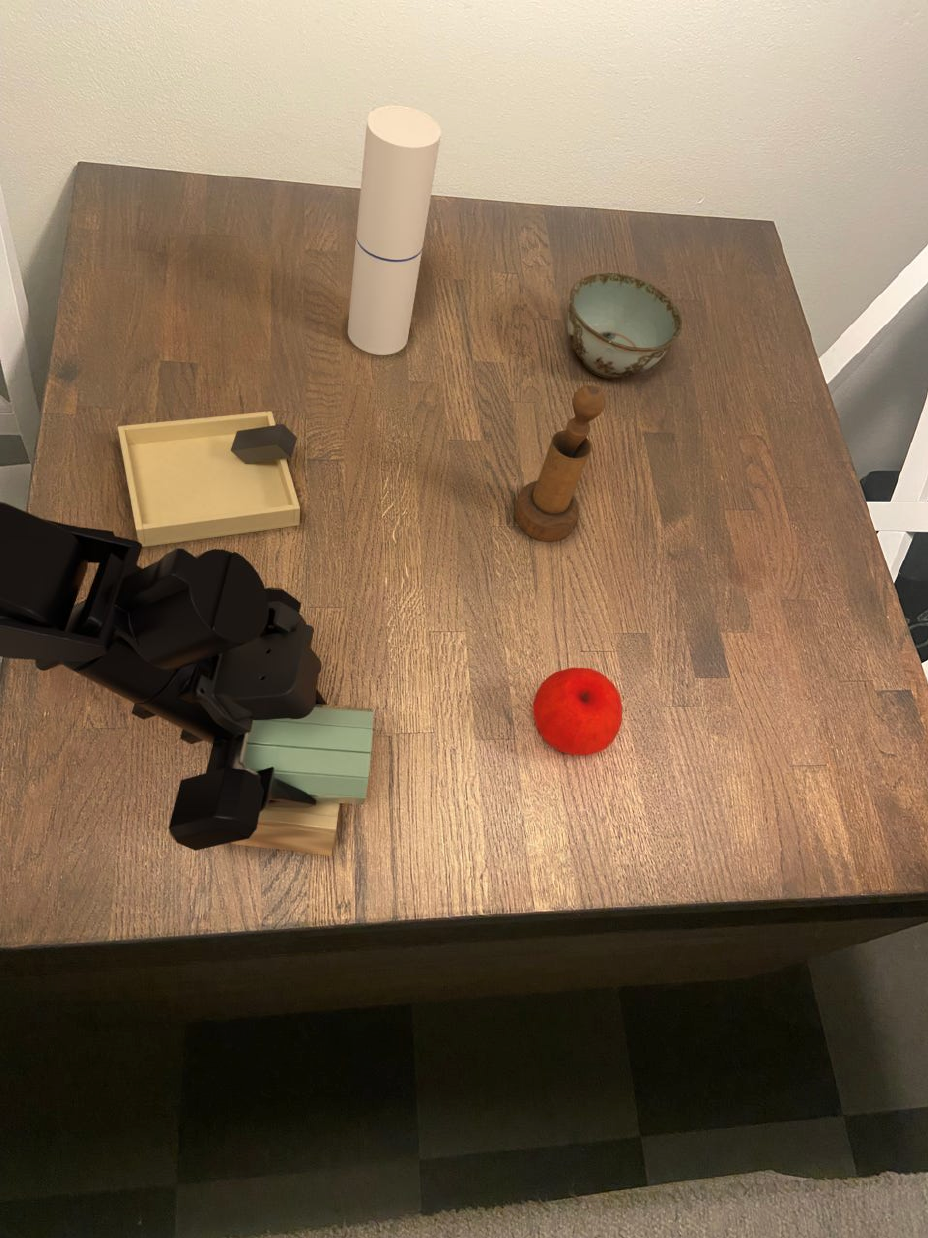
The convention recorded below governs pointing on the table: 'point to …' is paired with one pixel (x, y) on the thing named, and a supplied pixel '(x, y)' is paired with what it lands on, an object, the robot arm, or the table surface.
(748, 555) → the table surface
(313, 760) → the grooved sage-green cylinder
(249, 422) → the tray
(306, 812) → the wooden block
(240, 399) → the table surface
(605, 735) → the apple
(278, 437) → the black block
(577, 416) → the mortar and pestle
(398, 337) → the cylindrical container
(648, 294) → the bowl
